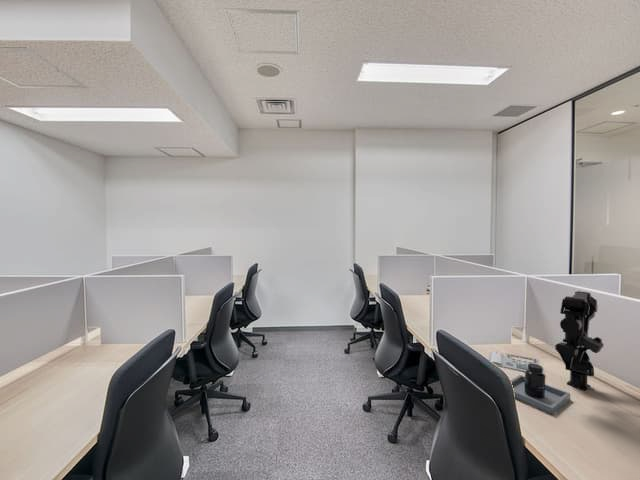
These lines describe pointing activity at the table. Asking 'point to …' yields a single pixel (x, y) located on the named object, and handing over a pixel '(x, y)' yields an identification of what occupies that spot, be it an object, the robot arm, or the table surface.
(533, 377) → the supplement bottle
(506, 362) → the office telephone
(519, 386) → the tray
